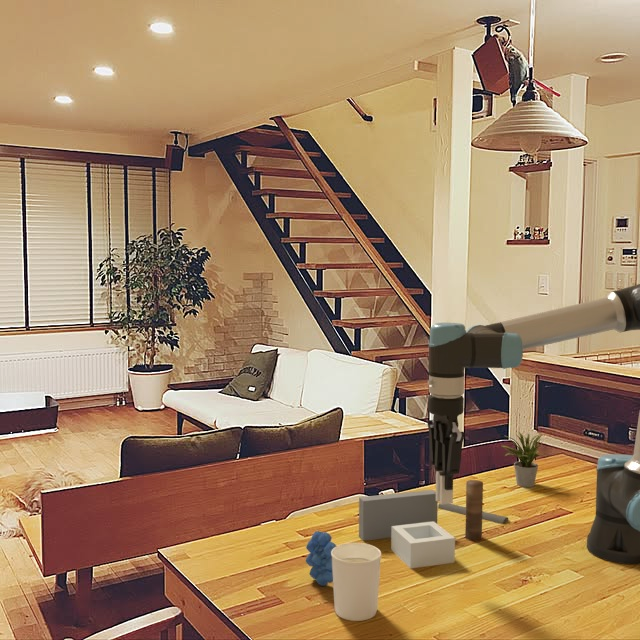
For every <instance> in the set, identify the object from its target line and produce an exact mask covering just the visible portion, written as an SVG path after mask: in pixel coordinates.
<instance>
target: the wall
mask: <svg viewBox="0 0 640 640" xmlns="http://www.w3.org/2000/svg"><path fill="white" fill-rule="evenodd" d="M438 502H439V501H436V490H433V489H428V490H416V491H408V492H398V493H397V492H396V493H388V494H378V495H369V496H360V497H358V537H359V538H360V539H361V541H363V542H365V541H372V540H373V541H374V540H381V539H389V538H390V539H391V526H398V525H406V524H415V523H424V522H432V521H434V522H435V523H436V524H438V509H439V508H438V505H439V503H438Z"/></svg>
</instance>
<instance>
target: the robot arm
mask: <svg viewBox="0 0 640 640" xmlns="http://www.w3.org/2000/svg"><path fill="white" fill-rule="evenodd" d="M429 329H430V330H429V341H428V342H429V343H428V380H427V385H428V393H429V394H430V395H428V396H427V397H428V400H427V404H428V405H427V406H428V407H427V410H428V413H429V414H432V415H433V418H432V419H429V420H427V424H426V425H427V429H428V434H429V435H428V436H429V437H428V439H429V453H430V454H429V455H430V464H431V465H432V466H434V470H435V492H436V501H438V502H439V503H440V504H453V503H454V501H453V499H454V476H455V475H459V474H460V471H461V470H460V469H461V462H462V461H461V460H462V454H463V453H462V451H463V443H464V439H465V436H466V434H465V432H464V431H460V429H459V420H458V417H459V416H460V415H462V414H464V411H465V410H464V407H465V406H464V405H465V399H464V397H463V395H465V369H467V368H468V369H472V368H474V369H475V368H477V369H478V368H480V369H502V370H505V369H512V368H513V369H516V368H518V367H520V365H521V363H522V362H523V356H524V351H525V350H530V349H534V348H539V347H543V346H546V345H547V346H548V345H551V344H556V343H561V342H565V341H569V340H573V339H578V338H582V337H587V336H592V335H596V334H600V333H605V332H610V331H616V332H618V333H624V332H629V331H640V283H638V284H635V285H631V286H628V287H624V288H621V289H617V290H612V291H609V292H608V293H607V295H606V296H605V297H603V298H598V299H595V300H589V301H586V302H581V303H577V304H573V305H568V306H565V307H560V308H559V307H558V308H556V309H551V310H546V311H542V312H538V313H533V314H529V315H524V316H521V317H518V318H517V317H516V318H513V319H511V318H510V319H508V320H503V321H499V322H496V323H491V324H486V325H483V324H478V325H472V326H471V327H469V328H468V329H467V330H466V326H465V324H463V323H459V322H458V323H457V322H436V323H433V324H432V325H431V326H430V328H429ZM635 435H636V436H635V441H634V442H635V443H634V447H633V448H634V449H633V454H617V453H616V454H615V453H613V454H612V453H611V454H604V455H601V456H599V458H598V460H597V468H595V469H596V491H595V492H596V494H595V496H596V497H595V517H594V519H593V522H592V524H591V528H590V531H589V533H588V535H587V536H586V537H587V538H586V549H587V550H588V551H589V552H590V553H591V554H592V555H594V556H595V557H598V558H600V559H602V560H606V561H609V562H613V563H618V564H626V565H640V411H639V413H638V421H637V427H636V434H635Z"/></svg>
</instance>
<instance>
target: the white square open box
mask: <svg viewBox="0 0 640 640" xmlns="http://www.w3.org/2000/svg"><path fill="white" fill-rule="evenodd" d="M390 547H391V549H390V550H391V551H392V552H393V554H395V555H396V556H397V557H398V558H399V559H400V560H401V561H402V562H403V563H404V564H405V565H406V566H407V567H408V568H409V569H417V568H424V567H430V566H431V567H432V566H440V565H446V564H447V565H448V564H453V563H455V562H456V559H455V558H456V557H455V556H456V553H455V552H456V537H455V536H453V535H452V534H451V533H449V532H448V531H447V530H445V528H443V527H441V526H440V525H439V524H438V523H437V524H436V523H435V522H434V521H432V522H424V523H415V524H406V525H398V526H391V537H390Z"/></svg>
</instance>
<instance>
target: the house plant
mask: <svg viewBox="0 0 640 640" xmlns="http://www.w3.org/2000/svg"><path fill="white" fill-rule="evenodd" d="M518 434H519V435H518ZM518 434H516V436H517V438H518V440H519V441H520V443H521V445H522V447H521V446H520V444H519V442H517V441H516V440H515V439H514V438H512V437H510V436H507V435H505V437H506V438H509V439H510V440H511V443H513V445H514V446H516V447H517V449H515V448H512V447H511V446H507V445H500V447H502V448H504V450H506V451H508V452H507V453H505V455H504V457H506V456H510V455H513V456H514V457H516V458H517V459H518V461H515V462H514V463H513V466H514V473H515V480H516V485H517V486H518V485H519V487H521V488H522V487H523V488H533V487H534V486H535V483H536V478H537V473H538V468H539V464H537V463H535V462H533V461H534V460H535V459H536V458H538V457H540V456H541V457H542V456H544V457H546V454H545V455H544V454H538V453H541V452H540V451H539V450H538V449H539V447H540V446H542V445H543V444H542V443H543V441H542V442H541V440H542V436H544V435H545V433H541V434H539V435H535V436H533V437H532V439H531V440H530V433H528V434H527V437H526V436H523V433H521V431H518ZM540 442H541V443H540Z"/></svg>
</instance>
